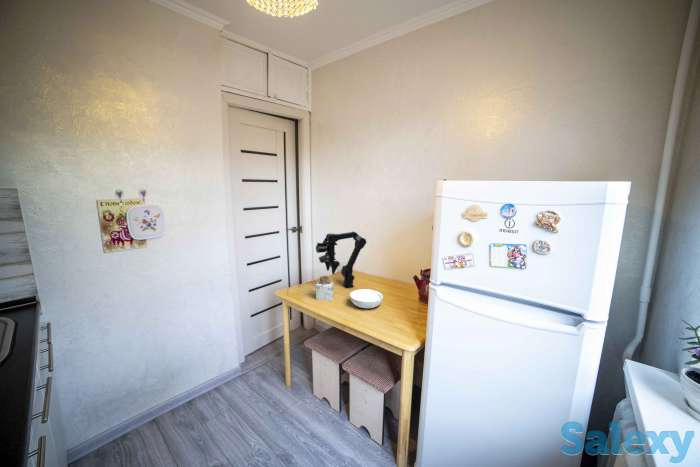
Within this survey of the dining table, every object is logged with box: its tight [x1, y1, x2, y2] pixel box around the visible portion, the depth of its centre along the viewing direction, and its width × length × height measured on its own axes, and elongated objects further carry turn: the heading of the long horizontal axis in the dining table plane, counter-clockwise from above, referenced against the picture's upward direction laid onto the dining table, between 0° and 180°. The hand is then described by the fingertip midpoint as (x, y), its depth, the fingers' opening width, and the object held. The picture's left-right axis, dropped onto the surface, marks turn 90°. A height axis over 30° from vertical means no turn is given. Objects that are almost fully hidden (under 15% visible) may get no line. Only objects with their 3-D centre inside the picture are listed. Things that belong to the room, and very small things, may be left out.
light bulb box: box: [315, 280, 334, 301], centre depth 184 cm, size 11×7×11 cm, turn 84°
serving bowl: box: [349, 288, 384, 309], centre depth 176 cm, size 21×21×7 cm
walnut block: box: [319, 275, 331, 285], centre depth 183 cm, size 5×5×4 cm
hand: (330, 272), depth 199 cm, fingers open, 9 cm apart
